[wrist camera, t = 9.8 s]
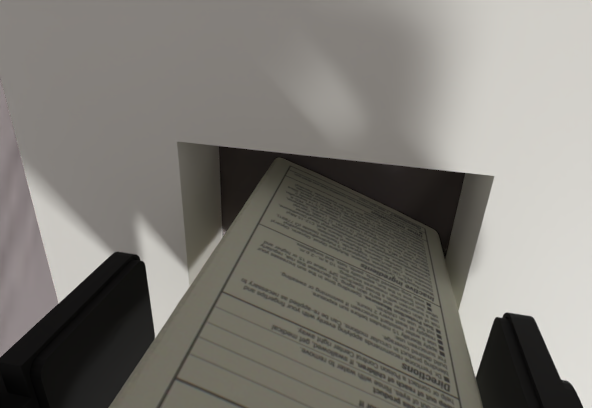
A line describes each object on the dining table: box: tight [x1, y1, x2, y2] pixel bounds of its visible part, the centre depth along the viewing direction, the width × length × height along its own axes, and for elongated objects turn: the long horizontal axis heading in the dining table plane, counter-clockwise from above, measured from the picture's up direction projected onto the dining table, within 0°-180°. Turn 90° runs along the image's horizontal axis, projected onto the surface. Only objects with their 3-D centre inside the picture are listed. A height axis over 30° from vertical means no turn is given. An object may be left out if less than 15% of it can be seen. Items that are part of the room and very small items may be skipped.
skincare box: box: [109, 157, 483, 408], centre depth 10 cm, size 6×4×12 cm
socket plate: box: [0, 0, 592, 408], centre depth 14 cm, size 22×18×4 cm
